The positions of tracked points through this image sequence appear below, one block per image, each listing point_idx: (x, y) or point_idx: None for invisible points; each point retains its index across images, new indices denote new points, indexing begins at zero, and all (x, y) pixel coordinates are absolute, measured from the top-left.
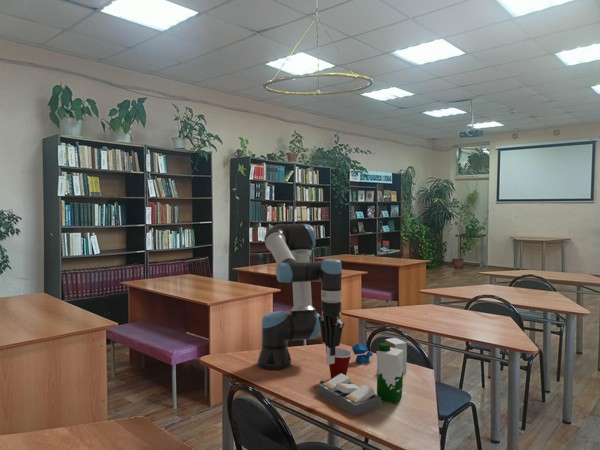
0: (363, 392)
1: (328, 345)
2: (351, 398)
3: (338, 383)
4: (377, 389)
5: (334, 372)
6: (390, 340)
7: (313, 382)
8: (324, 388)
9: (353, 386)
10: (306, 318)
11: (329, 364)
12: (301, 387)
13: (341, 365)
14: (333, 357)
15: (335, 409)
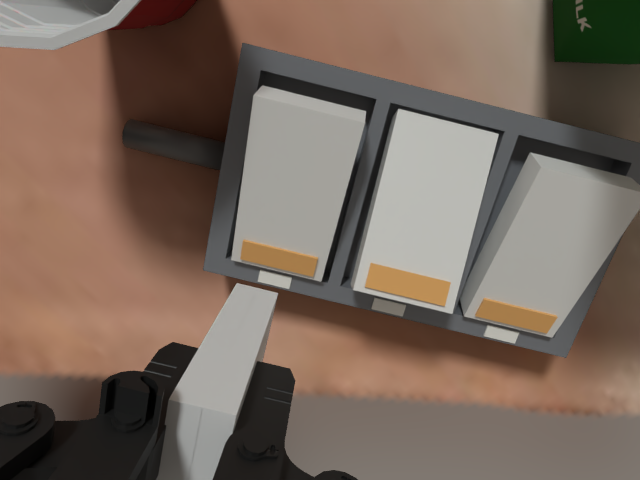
0: (573, 250)
1: (155, 471)
2: (513, 324)
3: (370, 286)
4: (589, 48)
5: (138, 26)
6: None
7: (72, 137)
8: (268, 284)
9: (440, 181)
10: None
11: (264, 352)
12: (85, 249)
13: None
14: (264, 339)
15: (415, 337)
